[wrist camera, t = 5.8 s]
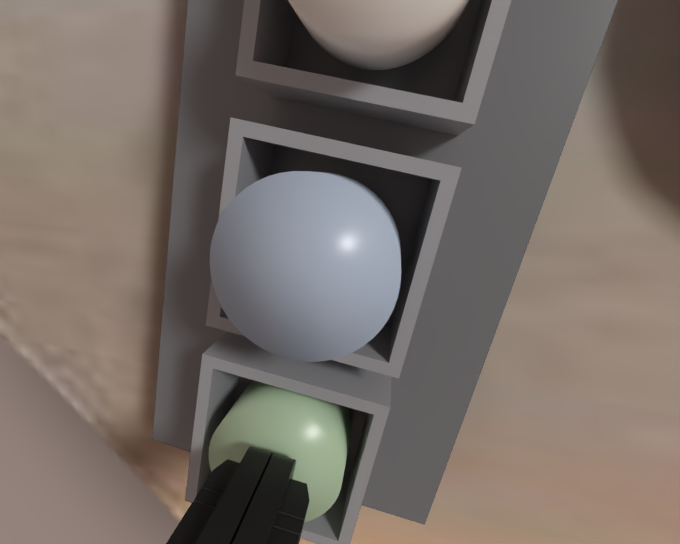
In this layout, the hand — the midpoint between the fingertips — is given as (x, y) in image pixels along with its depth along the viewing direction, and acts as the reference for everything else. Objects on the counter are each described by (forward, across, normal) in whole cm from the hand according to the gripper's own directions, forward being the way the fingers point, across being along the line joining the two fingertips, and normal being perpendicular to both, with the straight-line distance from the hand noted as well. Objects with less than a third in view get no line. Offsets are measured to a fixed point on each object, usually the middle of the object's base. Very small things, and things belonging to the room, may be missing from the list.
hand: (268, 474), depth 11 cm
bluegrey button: (+1, 0, -7) cm, 7 cm away
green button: (+3, 0, 0) cm, 3 cm away
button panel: (+6, 0, -7) cm, 9 cm away
